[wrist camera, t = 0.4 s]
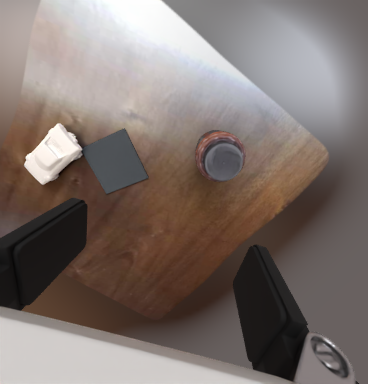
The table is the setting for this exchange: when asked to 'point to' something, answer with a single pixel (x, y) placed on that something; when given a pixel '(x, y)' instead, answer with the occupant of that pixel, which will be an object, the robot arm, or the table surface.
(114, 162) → the mat
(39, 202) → the table surface
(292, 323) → the robot arm
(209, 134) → the supplement bottle
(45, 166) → the toy car
